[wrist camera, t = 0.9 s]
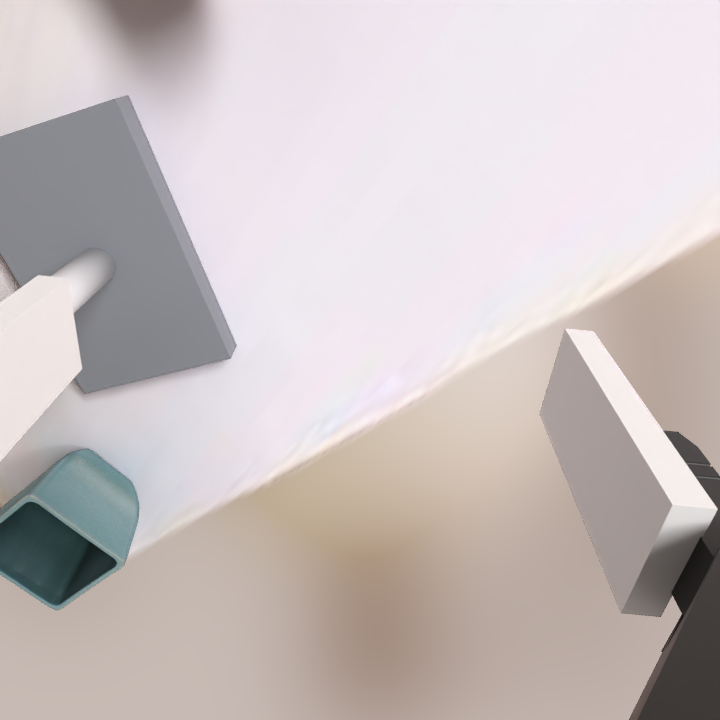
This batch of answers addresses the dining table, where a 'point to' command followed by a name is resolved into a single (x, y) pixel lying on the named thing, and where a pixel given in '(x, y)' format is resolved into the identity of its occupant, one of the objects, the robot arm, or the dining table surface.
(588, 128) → the dining table surface
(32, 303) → the robot arm
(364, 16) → the dining table surface
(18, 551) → the flower pot
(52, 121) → the spindle stand
